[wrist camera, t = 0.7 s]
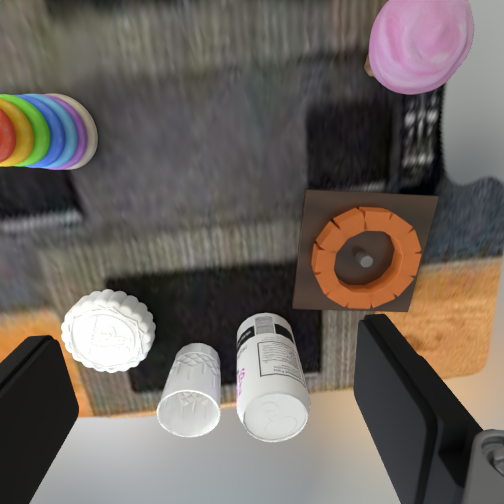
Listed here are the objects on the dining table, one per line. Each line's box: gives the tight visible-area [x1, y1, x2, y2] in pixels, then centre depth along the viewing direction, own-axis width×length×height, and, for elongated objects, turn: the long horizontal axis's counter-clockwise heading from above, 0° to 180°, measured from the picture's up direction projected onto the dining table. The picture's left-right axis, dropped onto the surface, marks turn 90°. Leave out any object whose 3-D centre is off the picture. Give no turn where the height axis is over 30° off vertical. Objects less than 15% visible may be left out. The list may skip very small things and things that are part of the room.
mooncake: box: [61, 289, 156, 373], centre depth 45 cm, size 12×12×4 cm
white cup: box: [157, 343, 221, 437], centre depth 45 cm, size 8×8×10 cm
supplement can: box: [237, 313, 311, 442], centre depth 41 cm, size 8×8×15 cm
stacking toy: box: [0, 94, 98, 170], centre depth 28 cm, size 8×8×19 cm
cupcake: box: [364, 0, 474, 94], centre depth 31 cm, size 9×9×10 cm
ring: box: [311, 207, 422, 309], centre depth 42 cm, size 13×13×2 cm
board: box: [292, 189, 439, 312], centre depth 43 cm, size 17×17×3 cm
